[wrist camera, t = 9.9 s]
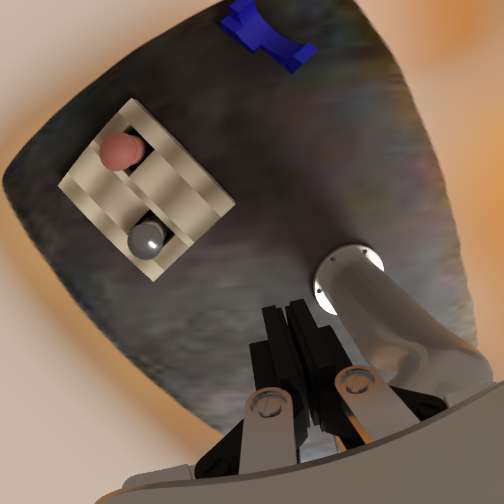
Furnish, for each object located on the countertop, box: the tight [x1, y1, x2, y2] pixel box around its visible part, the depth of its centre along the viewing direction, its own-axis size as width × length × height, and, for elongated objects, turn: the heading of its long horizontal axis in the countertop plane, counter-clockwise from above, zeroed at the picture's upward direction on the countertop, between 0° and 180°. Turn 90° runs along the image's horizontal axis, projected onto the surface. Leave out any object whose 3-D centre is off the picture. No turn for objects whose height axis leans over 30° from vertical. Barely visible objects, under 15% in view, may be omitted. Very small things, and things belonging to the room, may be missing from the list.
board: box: [58, 98, 235, 282], centre depth 39 cm, size 20×16×3 cm
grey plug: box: [127, 215, 168, 260], centre depth 39 cm, size 5×5×6 cm
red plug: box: [99, 132, 146, 171], centre depth 33 cm, size 5×5×6 cm
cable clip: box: [221, 0, 318, 74], centre depth 32 cm, size 12×4×6 cm, turn 48°
